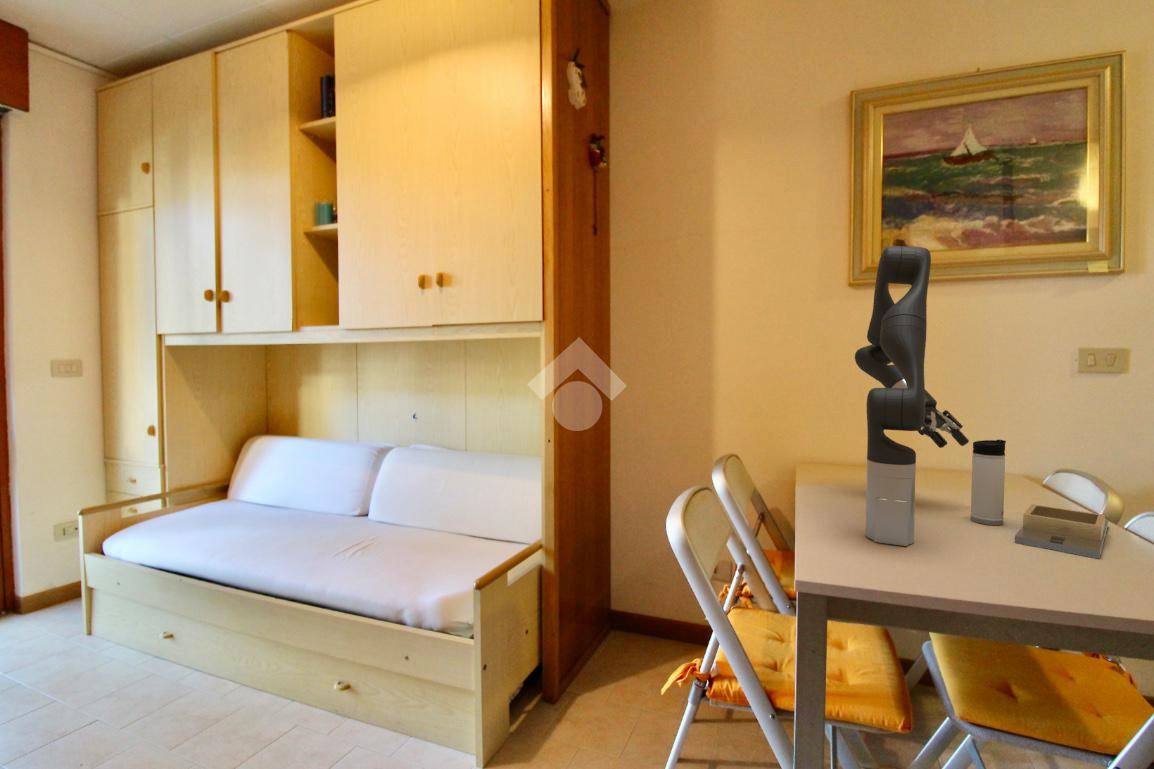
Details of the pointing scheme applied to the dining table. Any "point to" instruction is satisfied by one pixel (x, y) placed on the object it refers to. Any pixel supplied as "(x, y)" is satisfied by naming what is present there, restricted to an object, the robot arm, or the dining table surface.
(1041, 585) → the dining table surface
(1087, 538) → the open tray on base
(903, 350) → the robot arm
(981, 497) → the travel mug
